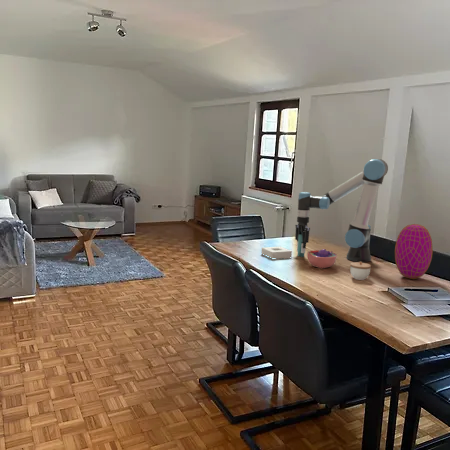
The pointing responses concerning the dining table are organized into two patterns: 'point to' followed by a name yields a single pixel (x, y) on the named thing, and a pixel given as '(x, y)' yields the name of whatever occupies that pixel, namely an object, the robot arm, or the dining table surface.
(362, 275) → the lidded jar
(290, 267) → the dining table surface
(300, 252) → the peg
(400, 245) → the decorative egg
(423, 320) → the dining table surface
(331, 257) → the cell model
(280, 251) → the socket block
